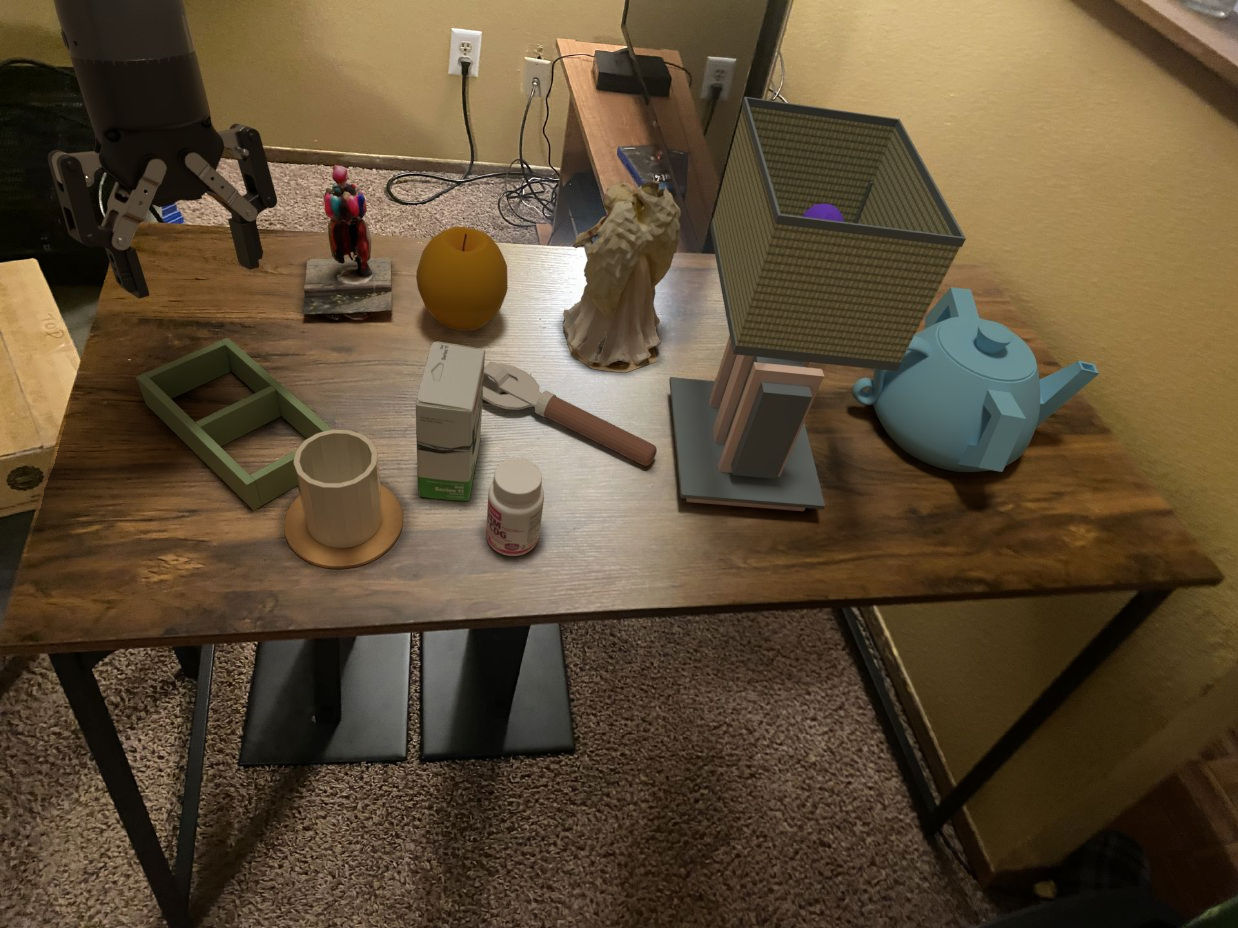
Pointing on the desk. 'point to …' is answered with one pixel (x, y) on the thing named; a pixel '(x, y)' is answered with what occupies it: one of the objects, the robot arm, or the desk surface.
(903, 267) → the desk lamp
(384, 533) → the coaster
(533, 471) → the pill bottle
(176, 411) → the cup holder
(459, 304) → the apple
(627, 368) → the figurine
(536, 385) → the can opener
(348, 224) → the statue
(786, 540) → the desk surface
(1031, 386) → the teapot
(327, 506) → the cup
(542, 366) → the desk surface
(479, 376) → the ink box
